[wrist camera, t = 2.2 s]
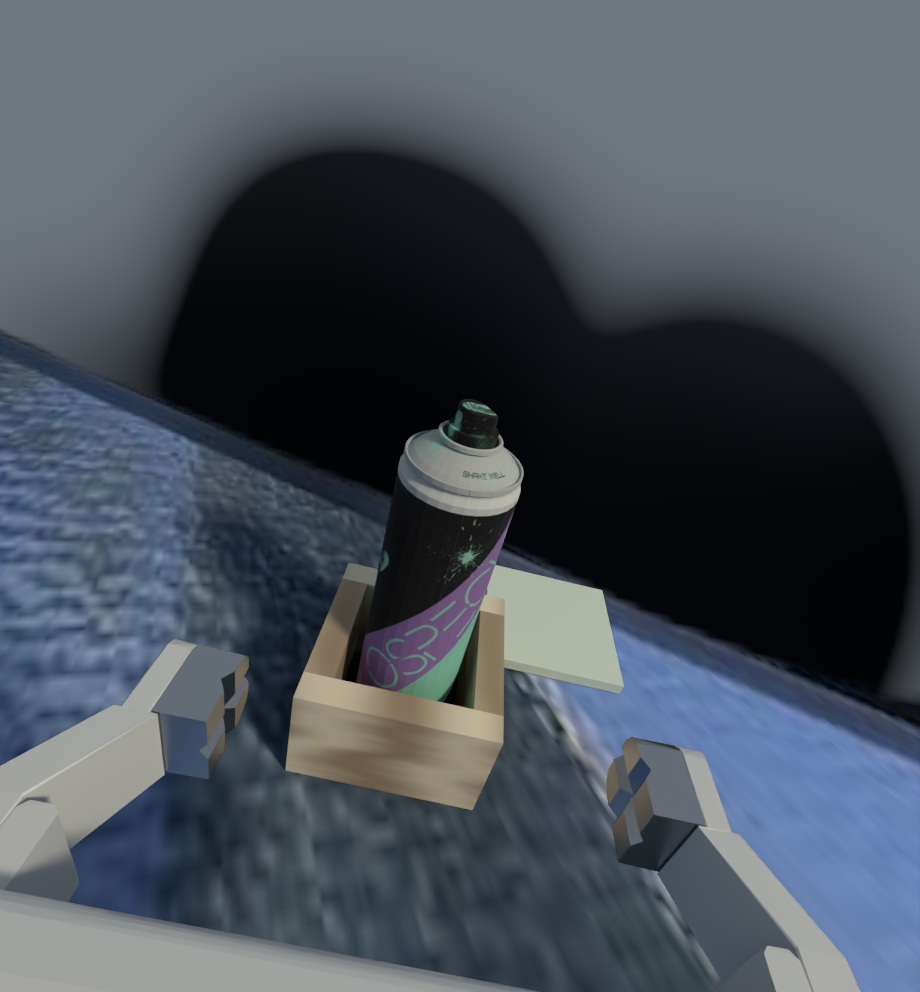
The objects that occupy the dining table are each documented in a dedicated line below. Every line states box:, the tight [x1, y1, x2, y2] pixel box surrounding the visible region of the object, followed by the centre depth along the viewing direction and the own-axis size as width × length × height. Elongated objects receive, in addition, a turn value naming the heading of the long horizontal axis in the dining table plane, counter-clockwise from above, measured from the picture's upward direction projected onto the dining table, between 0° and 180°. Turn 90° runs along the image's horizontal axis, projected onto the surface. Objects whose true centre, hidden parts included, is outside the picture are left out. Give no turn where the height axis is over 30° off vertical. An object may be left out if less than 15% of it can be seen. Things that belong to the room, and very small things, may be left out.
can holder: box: [285, 563, 505, 810], centre depth 30 cm, size 10×10×6 cm
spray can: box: [356, 399, 524, 703], centre depth 27 cm, size 6×6×20 cm
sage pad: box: [485, 565, 624, 694], centre depth 41 cm, size 10×10×1 cm
